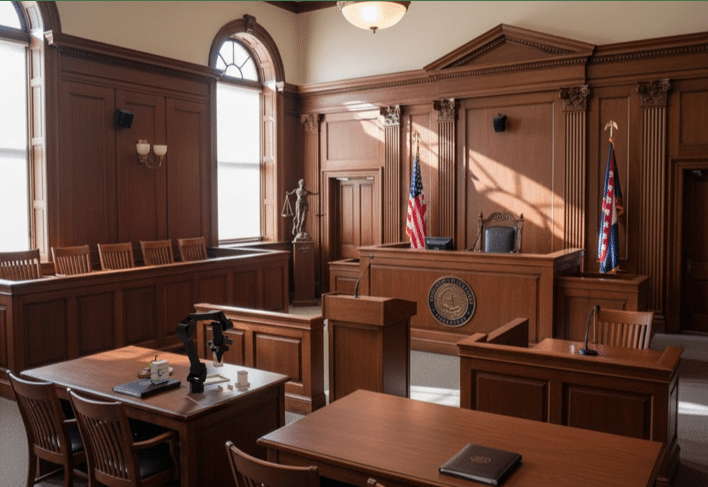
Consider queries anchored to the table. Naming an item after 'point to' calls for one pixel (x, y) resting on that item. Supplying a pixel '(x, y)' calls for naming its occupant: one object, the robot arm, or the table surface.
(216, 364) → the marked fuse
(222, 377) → the tray
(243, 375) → the plain fuse
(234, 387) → the block
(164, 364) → the ink box
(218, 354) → the robot arm
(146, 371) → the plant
